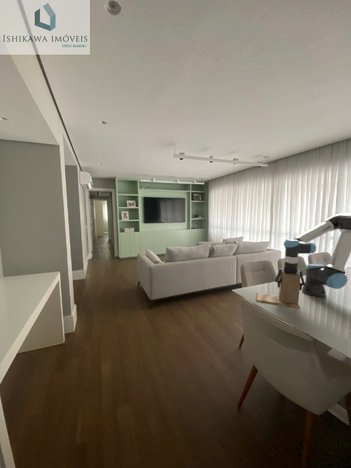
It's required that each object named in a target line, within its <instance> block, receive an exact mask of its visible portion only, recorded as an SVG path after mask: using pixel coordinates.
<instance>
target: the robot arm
mask: <svg viewBox="0 0 351 468" xmlns="http://www.w3.org/2000/svg"><path fill="white" fill-rule="evenodd" d="M336 230H339V232H340V235H339V237H338V239H337V243H336V245H335V248H334V250H333V253H332V255H331V257H330V260H329V262H328V264H325V265H324V264H318V263H308V264H307V265H306V268H305V279H304V276H303V270H301V269H300V270H299V269H298V263H299V262H298V259H299V254H308V255H310V254H314V253H315V252H316V251H317V246H316V244H315V243H314V242H312V241H314V240H315V239H317V238H319V237H321V236H323V235H324V234H327V233H328V232H333V231H336ZM283 246H284V249H285V251H284V252H285V253H284V261H285V262H284V267H283V268H280V267H279V268H278V272H277V275H276V277H275V279H274V281H275V283H277V288H278V294H279V293H281V281H282V277H281V278H280V275H281V272H282V271H284V272H285V273H287V274H289V273H290V274H296V273H297V274H298V275H300V289H299V294H300V291H302V293H304V294H305V295H307V296H311V297H315V298H325V297H326V296H327V291H326V289H325V287H328V288H331V289H334V290H335V289H336V290H339V289H342V288H344V287H345V286H346V285H347V283H348V276H347V275H346V273H347V272H346V270H345V268H346V265H347V264H348V263H347V262H348V260H349V258H350V255H351V213H350V212H349V213H344V212H343V213H339V214H338V213H337V214H334V215H332V216H329V217H328V218H326V219H324V220H322V222H321V223H320V224H318V225H316V226H314V227H313V228H311V229H309V230H306V231H305V232H303V233H301V234H300V235H298V236H295V237H294V238H292V239H289V238H288V239H285V240H284V242H283Z"/></svg>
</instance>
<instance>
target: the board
mask: <svg viewBox="0 0 351 468" xmlns="http://www.w3.org/2000/svg"><path fill="white" fill-rule="evenodd" d="M256 302H259V303H265V304H270V305H278V306H283V307H289V308H296V309H300V307H301V306H300V305H299V303H298V304H291V303H283V302H282V301H281V299H280V298H279V295H275V294H267V293H260V292H257V293H256Z"/></svg>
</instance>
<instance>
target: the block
mask: <svg viewBox="0 0 351 468" xmlns="http://www.w3.org/2000/svg"><path fill="white" fill-rule="evenodd" d="M281 277H282V281H281V293H279V292H278V296H279V298H280V299H281V301H282V302H283V303H291V304H299V301H300V300H299V299H300V293H299V289H300V283H301V278H300V274H299V273H298V272H297V273H296V274H290V273H289V274H287V273H285V272H284V271H282V272H281V275H280V277H279V279H280V278H281Z"/></svg>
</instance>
